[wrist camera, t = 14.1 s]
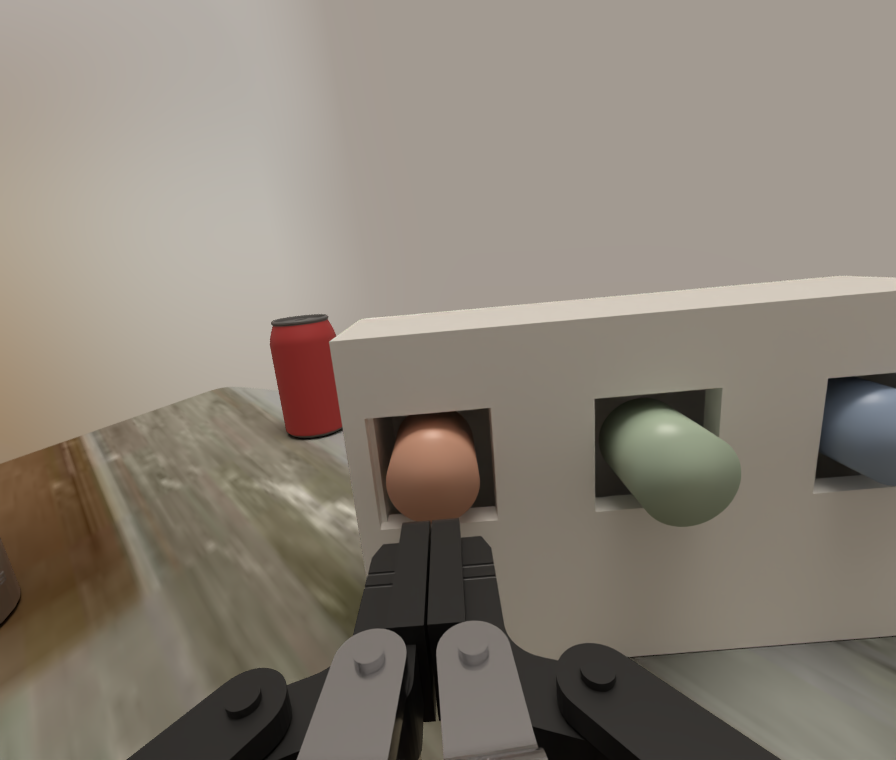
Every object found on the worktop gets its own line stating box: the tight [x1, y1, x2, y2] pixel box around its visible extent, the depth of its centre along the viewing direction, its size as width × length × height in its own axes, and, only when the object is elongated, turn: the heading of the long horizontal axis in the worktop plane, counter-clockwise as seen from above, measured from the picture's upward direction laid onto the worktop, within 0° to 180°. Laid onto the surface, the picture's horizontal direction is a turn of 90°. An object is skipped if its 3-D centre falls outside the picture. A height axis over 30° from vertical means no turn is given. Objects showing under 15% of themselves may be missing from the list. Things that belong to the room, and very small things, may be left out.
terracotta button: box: [386, 411, 480, 524], centre depth 17 cm, size 3×4×3 cm
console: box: [329, 276, 896, 660], centre depth 19 cm, size 22×6×14 cm, turn 91°
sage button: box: [599, 398, 741, 527], centre depth 16 cm, size 3×4×3 cm
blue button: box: [818, 376, 896, 486], centre depth 17 cm, size 3×4×3 cm
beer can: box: [270, 314, 343, 438], centre depth 47 cm, size 7×7×12 cm
